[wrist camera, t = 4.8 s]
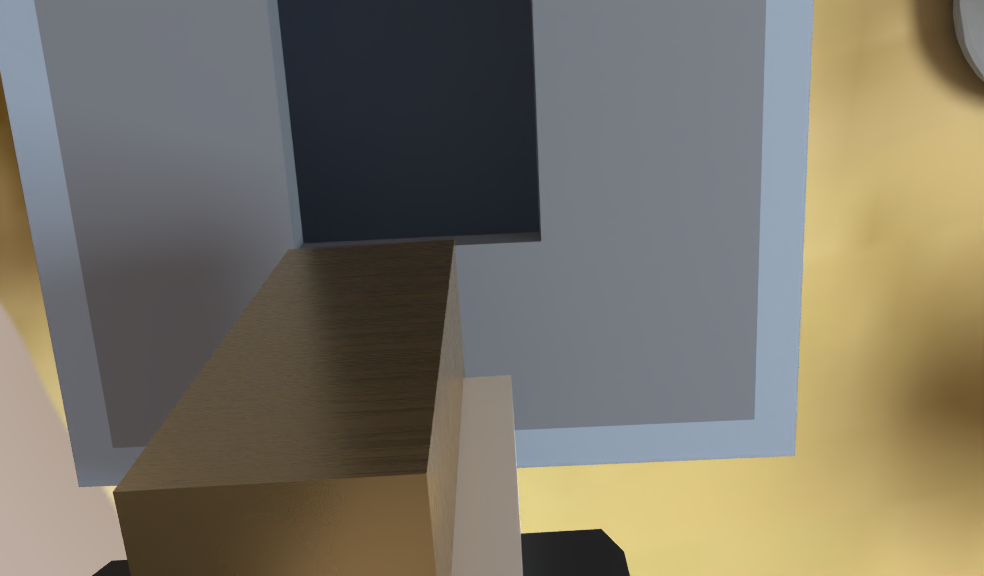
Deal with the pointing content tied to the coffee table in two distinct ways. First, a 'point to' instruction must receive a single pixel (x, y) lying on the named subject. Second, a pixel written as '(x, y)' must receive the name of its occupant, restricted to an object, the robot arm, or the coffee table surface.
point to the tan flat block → (314, 428)
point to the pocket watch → (970, 32)
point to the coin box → (430, 199)
